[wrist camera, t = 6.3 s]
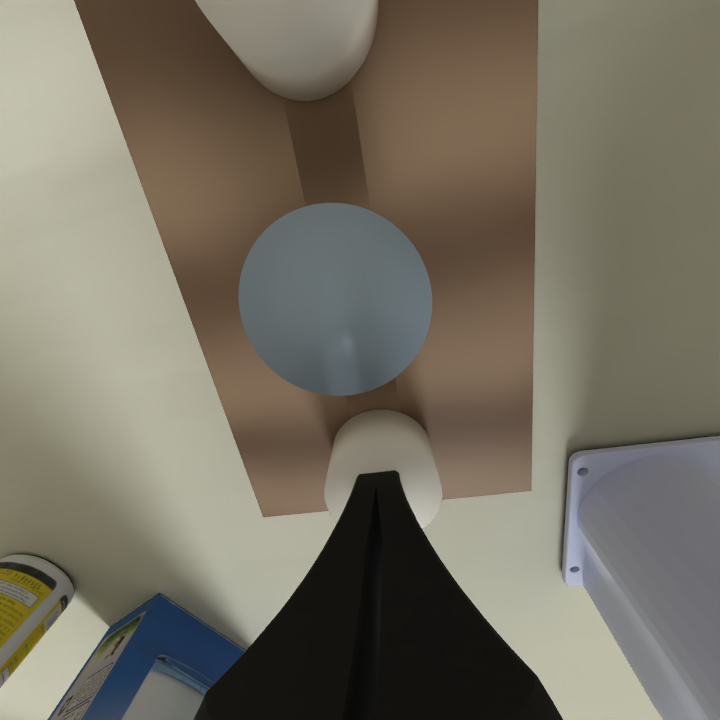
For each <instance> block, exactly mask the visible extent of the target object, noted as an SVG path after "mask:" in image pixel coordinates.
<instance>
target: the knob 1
mask: <svg viewBox="0 0 720 720" xmlns="http://www.w3.org/2000/svg"><path fill="white" fill-rule="evenodd" d="M195 1H196V3H197V5H198V6H199V8H200V9H201V10H202V12H203V13H204V15H205V16H206V18H207V19H208V20H209V21H210V23H211V24H212V25H213V26H214V28H215V29H216V30H217V31H218V33H219V34H220V35H221V36H222V38H223V39H224V40H225V41H226V43H227V44H228V45H229V47H230V48H231V49H232V50H233V52H234V53H235V54H236V55H237V57H238V58H239V59H240V60H241V62H242V63H243V64H244V65H245V67H246V68H247V69H248V70H249V71H250V73H251V74H252V75H253V76H254V77H255V78H256V79H257V80H258V81H259V82H260V83H261V84H262V85H263V86H265V87H266V88H267V89H269V90H270V91H272V92H274V93H276V94H278V95H280V96H282V97H285V98H288V99H292V100H298V101H311V100H317V99H321V98H324V97H327V96H329V95H331V94H333V93H335V92H336V91H338V90H339V89H341V88H342V87H343V86H345V85H346V84H347V83H348V82H349V81H350V80H351V79H352V78H353V76H354V75H355V74H356V73H357V72H358V70H359V69H360V67H361V65H362V64H363V62H364V60H365V58H366V56H367V54H368V52H369V50H370V47H371V44H372V41H373V38H374V34H375V30H376V25H377V17H378V0H195Z"/></svg>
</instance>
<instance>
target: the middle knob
mask: <svg viewBox="0 0 720 720" xmlns="http://www.w3.org/2000/svg"><path fill="white" fill-rule="evenodd" d="M239 309H240V315H241V319H242V323H243V326H244V329H245V332H246V334H247V337H248V339H249V341H250V342H251V344H252V346H253V348H254V349H255V351H256V352H257V354H258V355H259V357H260V358H261V359H262V360H263V361H264V362H265V363H266V365H267V366H268V367H269V368H271V369H272V370H273V371H274V372H275V373H276V374H277V375H279V376H280V377H282V378H283V379H285V380H286V381H288V382H290V383H291V384H293V385H295V386H297V387H300V388H302V389H304V390H307V391H310V392H314V393H318V394H323V395H331V396H346V395H355V394H360V393H364V392H367V391H370V390H373V389H376V388H378V387H380V386H382V385H384V384H386V383H387V382H389V381H391V380H392V379H394V378H395V377H396V376H398V375H399V374H400V373H401V372H402V371H404V369H405V368H406V367H407V366H408V365H409V364H410V363H411V362H412V361H413V359H414V358H415V356H416V355H417V354H418V352H419V350H420V348H421V347H422V345H423V343H424V340H425V338H426V335H427V333H428V329H429V325H430V321H431V314H432V291H431V285H430V280H429V276H428V273H427V270H426V267H425V265H424V263H423V261H422V258H421V256H420V254H419V253H418V251H417V250H416V248H415V247H414V245H413V244H412V242H411V241H410V240H409V239H408V238H407V237H406V235H405V234H404V233H403V232H402V231H401V230H400V229H398V228H397V227H396V226H395V225H394V224H393V223H391V222H390V221H388V220H387V219H385V218H384V217H382V216H380V215H378V214H376V213H374V212H372V211H370V210H368V209H365V208H362V207H358V206H355V205H350V204H344V203H321V204H313V205H309V206H306V207H302V208H299V209H297V210H294V211H292V212H290V213H288V214H286V215H284V216H283V217H281V218H280V219H278V220H276V221H275V222H274V223H273V224H272V225H270V226H269V227H268V228H267V229H266V230H265V231H264V232H263V233H262V234H261V235H260V237H259V238H258V239H257V240H256V242H255V243H254V245H253V246H252V248H251V250H250V251H249V253H248V256H247V258H246V260H245V262H244V265H243V269H242V272H241V276H240V283H239Z"/></svg>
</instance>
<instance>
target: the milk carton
mask: <svg viewBox="0 0 720 720" xmlns="http://www.w3.org/2000/svg"><path fill="white" fill-rule="evenodd" d="M245 651H246V650H244V649H243V648H241V647H240V646H238V645H237V644H235V643H234V642H232V641H231V640H229V639H228V638H226V637H225V636H223V635H222V634H220V633H219V632H217V631H216V630H214V629H213V628H211V627H210V626H208V625H207V624H205V623H204V622H202V621H201V620H199V619H198V618H196V617H195V616H193V615H192V614H190V613H189V612H187V611H186V610H184V609H183V608H181V607H180V606H178V605H177V604H175V603H174V602H172V601H171V600H169V599H168V598H166V597H165V596H163V595H162V594H160V593H159V594H158V595H156V596H155V597H153V598H152V599H150V600H149V601H148V602H146V603H145V604H143V605H142V606H140V607H139V608H137V609H136V610H135V611H133V612H132V613H130V614H129V615H127V616H126V617H124V618H123V619H122V620H120V621H119V622H117V623H116V624H114V625H113V626H111V627H110V628H109V629H108V631H107V632H106V634H105V635H104V637H103V638H102V640H101V641H100V643H99V644H98V646H97V647H96V648H95V650H94V651H93V653H92V654H91V656H90V657H89V659H88V660H87V662H86V663H85V665H84V666H83V668H82V669H81V671H80V672H79V674H78V675H77V677H76V678H75V680H74V681H73V683H72V684H71V686H70V687H69V689H68V690H67V692H66V693H65V695H64V696H63V698H62V699H61V701H60V702H59V704H58V705H57V707H56V708H55V709H54V711H53V712H52V714H51V715H50V717H49V718H48V720H194V717H195V715H196V713H197V711H198V709H199V707H200V705H201V703H202V700H203V698H204V696H205V693H206V692H207V691H208V690H209V689H210V688H211V687H212V686H213V685H214V684H215V683H216V682H217V681H218V680H219V679H220V678H221V676H222V675H223V674H224V673H225V672H226V671H227V670H228V669H229V668H230V667H231V666H232V665H233V664H234V663H235V662H236V661H237V660H238V659H239V658H240V657H241V656H242V655H243V654H244V653H245Z"/></svg>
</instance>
